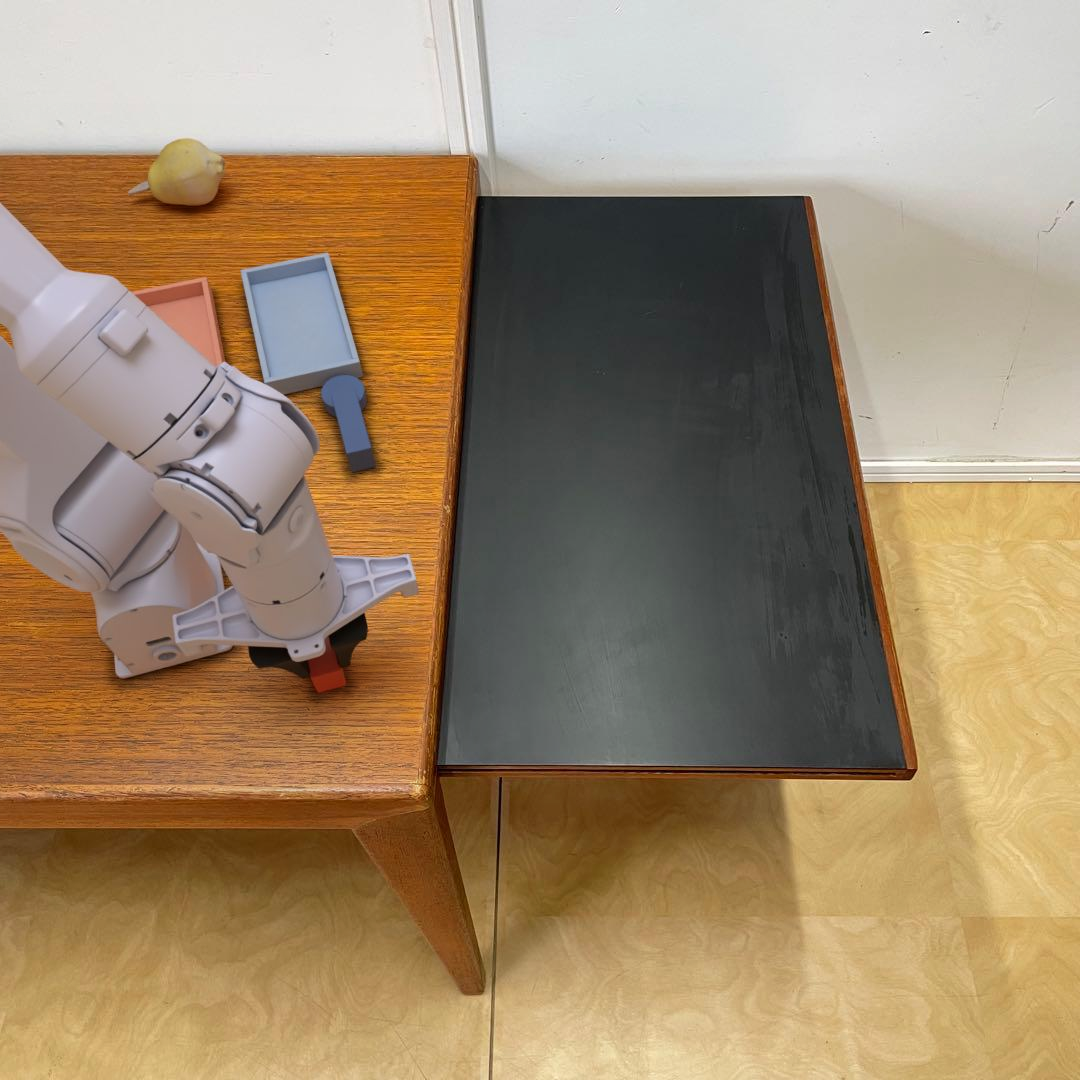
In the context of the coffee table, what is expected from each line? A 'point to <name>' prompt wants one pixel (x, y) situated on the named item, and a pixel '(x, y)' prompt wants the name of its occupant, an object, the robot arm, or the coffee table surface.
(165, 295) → the rose tray
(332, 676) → the red spoon
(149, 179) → the fruit
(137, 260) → the coffee table surface
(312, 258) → the blue tray
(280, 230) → the coffee table surface
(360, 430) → the blue spoon
